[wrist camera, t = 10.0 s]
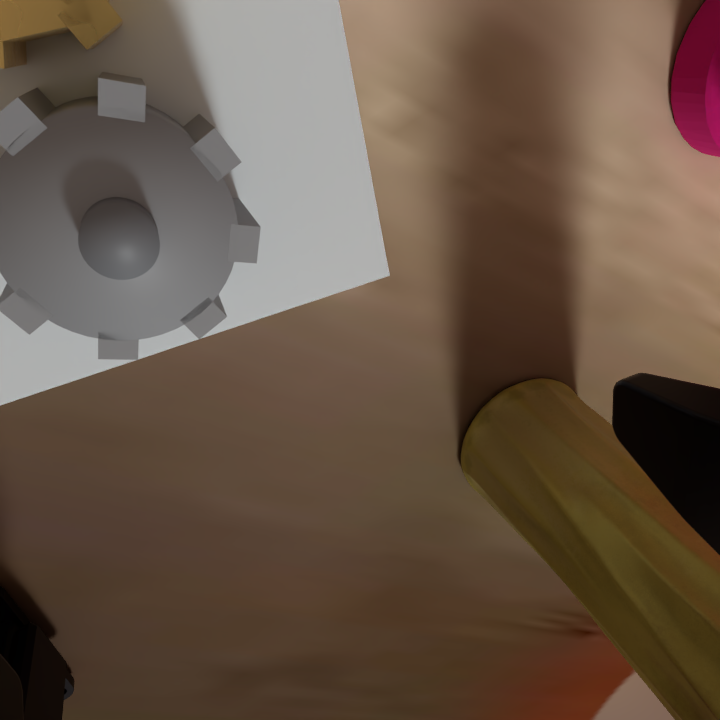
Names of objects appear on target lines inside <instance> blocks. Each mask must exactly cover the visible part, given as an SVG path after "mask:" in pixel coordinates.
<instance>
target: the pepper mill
mask: <svg viewBox="0 0 720 720" xmlns="http://www.w3.org/2000/svg"><path fill="white" fill-rule="evenodd" d="M671 105H672V110H673V115H674V120H675V124H676V126H677V127H678V129H679V131H680V133H681V135H682V137H683V138H684V139H685V140H686V141H687V142H688V143H689V145H690V146H691V147H693V148H694V149H696V150H698V151H699V152H701V153H704V154H708V155H712V156H718V157H720V0H706V1H705V2H704V3H703V4H702V6H701V7H700V9H699V10H698V12H697V13H696V15H695V16H694V18H693V19H692V21H691V23H690V24H689V26H688V29H687V31H686V33H685V36H684V38H683V40H682V43H681V45H680V47H679V50H678V52H677V56H676V60H675V65H674V69H673V74H672V79H671Z"/></svg>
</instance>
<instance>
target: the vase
mask: <svg viewBox="0 0 720 720" xmlns="http://www.w3.org/2000/svg"><path fill="white" fill-rule="evenodd" d="M461 467H462V470H463V473H464V475H465V477H466V479H467V481H468V483H469V484H470V485H471V487H472V488H474V489H475V490H476V491H477V492H478V493H479V494H480V495H481V496H482V497H483V498H484V499H485V500H486V501H487V502H488V503H489V504H490V505H491V506H492V507H493V508H494V509H495V510H496V511H497V512H498V513H499V514H500V515H501V516H502V517H503V518H504V519H505V520H506V521H507V522H508V523H509V524H510V525H511V527H512V528H513V529H514V530H515V531H516V532H517V533H518V534H519V535H520V536H521V537H522V538H523V539H524V540H525V541H526V542H527V543H528V544H529V545H530V546H531V547H532V548H533V549H534V550H535V551H536V552H537V553H538V554H539V555H540V557H541V558H542V559H543V560H544V561H545V562H546V563H547V564H548V565H549V566H550V567H551V568H552V569H553V570H554V571H555V573H556V574H557V575H558V576H559V577H560V578H561V579H562V581H563V582H564V583H565V584H566V585H567V586H568V588H569V589H570V590H571V592H572V593H573V594H574V595H575V596H576V598H577V599H578V600H579V601H580V603H581V604H582V605H583V606H584V608H585V609H586V610H587V611H588V613H589V614H590V615H591V617H592V618H593V619H594V621H595V622H596V623H597V624H598V626H599V627H600V628H601V630H602V631H603V632H604V633H605V635H606V636H607V637H608V638H609V640H610V641H611V642H612V643H613V644H614V646H615V647H616V648H617V649H618V651H619V652H620V653H621V654H622V655H623V657H624V658H625V659H626V660H627V662H628V663H629V664H630V665H631V666H632V668H633V669H634V670H635V671H636V672H637V673H638V675H639V676H640V677H641V678H642V680H643V681H644V682H645V683H646V684H647V686H648V687H649V688H650V689H651V691H652V692H653V693H654V694H655V695H656V697H657V698H658V699H659V700H660V702H661V703H662V704H663V705H664V707H666V709H667V710H668V712H669V713H670V714H671V715H672V716H673V718H674V719H675V720H720V555H719V554H718V553H717V552H716V551H715V550H714V549H713V548H712V547H711V546H710V545H709V544H708V543H707V542H706V541H705V540H704V539H703V538H702V537H701V536H700V535H699V534H698V533H697V532H696V531H695V530H694V529H693V528H692V527H691V526H690V525H689V524H688V523H687V522H686V521H685V520H684V519H683V518H682V517H681V515H680V514H679V513H678V512H677V511H676V510H675V509H674V507H673V506H672V505H671V504H670V503H669V501H668V500H667V499H666V498H665V497H664V495H663V494H662V493H661V492H660V490H659V489H658V488H657V487H656V486H655V484H654V483H653V482H652V481H651V480H650V478H649V477H648V476H647V475H646V473H645V472H644V471H643V470H642V469H641V467H640V466H639V465H638V464H637V462H636V461H635V460H634V459H633V458H632V456H631V455H630V454H629V453H628V451H627V450H626V449H625V448H624V447H623V445H622V444H621V443H620V442H619V440H618V439H617V437H616V435H615V433H614V430H613V426H612V425H611V424H610V423H609V422H607V421H606V420H605V419H604V418H603V417H601V416H600V415H599V414H598V413H596V412H595V411H594V410H593V409H591V408H590V407H589V406H587V405H586V404H585V403H584V402H583V401H582V400H581V399H580V398H579V397H578V396H577V395H576V393H575V392H574V391H573V390H572V389H571V388H570V387H569V386H567V385H566V384H564V383H562V382H560V381H556V380H552V379H544V378H539V379H532V380H528V381H524V382H521V383H518V384H516V385H513V386H511V387H509V388H507V389H505V390H503V391H502V392H500V393H499V394H497V395H496V396H495V397H494V398H492V399H491V400H490V401H489V402H488V403H487V404H486V405H485V406H483V407H482V409H481V410H480V411H479V412H478V414H477V415H476V416H475V418H474V419H473V421H472V422H471V424H470V426H469V428H468V430H467V432H466V435H465V437H464V441H463V445H462V451H461Z"/></svg>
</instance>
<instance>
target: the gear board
mask: <svg viewBox="0 0 720 720" xmlns="http://www.w3.org/2000/svg"><path fill="white" fill-rule="evenodd" d="M109 4H110V5H111V6H112V8H113V9H114V10H115V11H116V13H117V14H118V15H119V16H120V18H121V19H122V26H120V27H119V28H118V29H117V30H115V31H114V32H113V33H112V34H111V35H109V36H108V37H107V38H106V39H105V40H103V41H102V42H101V43H100V44H99V45H97V46H96V47H95V48H94V49H89V50H86V49H85V47H84V46H83V45H82V44H81V43H80V41H79V40H78V39H77V38H76V37H75V35H74V34H73V33H72V32H67V33H63V34H58V35H54V36H49V37H45V38H40V39H36V40H31V41H27V42H26V57H27V64H25V65H20V66H16V67H11V68H6V69H3V68H0V405H3V404H6V403H9V402H12V401H15V400H18V399H21V398H24V397H27V396H30V395H33V394H36V393H39V392H42V391H45V390H48V389H51V388H54V387H57V386H60V385H63V384H66V383H69V382H72V381H75V380H78V379H81V378H84V377H87V376H90V375H93V374H96V373H99V372H102V371H105V370H108V369H111V368H114V367H117V366H120V365H123V364H126V363H129V362H132V361H135V360H138V359H141V358H144V357H147V356H150V355H153V354H156V353H159V352H162V351H165V350H168V349H171V348H174V347H177V346H180V345H183V344H186V343H189V342H192V341H195V340H198V339H201V338H204V337H207V336H210V335H213V334H216V333H219V332H222V331H225V330H228V329H231V328H234V327H237V326H240V325H243V324H246V323H249V322H252V321H255V320H258V319H261V318H264V317H267V316H270V315H273V314H276V313H279V312H282V311H285V310H288V309H291V308H294V307H297V306H300V305H303V304H306V303H309V302H312V301H315V300H318V299H321V298H324V297H327V296H330V295H333V294H336V293H339V292H342V291H345V290H348V289H351V288H354V287H357V286H360V285H363V284H366V283H369V282H372V281H375V280H378V279H381V278H384V277H387V276H390V275H389V269H388V264H387V259H386V253H385V248H384V242H383V237H382V232H381V226H380V221H379V216H378V210H377V205H376V199H375V194H374V189H373V183H372V178H371V172H370V167H369V162H368V156H367V151H366V145H365V140H364V135H363V129H362V124H361V118H360V113H359V108H358V102H357V97H356V91H355V86H354V81H353V75H352V70H351V64H350V59H349V54H348V48H347V43H346V37H345V32H344V27H343V21H342V16H341V10H340V5H339V0H110V1H109Z"/></svg>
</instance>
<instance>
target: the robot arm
mask: <svg viewBox="0 0 720 720" xmlns="http://www.w3.org/2000/svg"><path fill="white" fill-rule="evenodd" d="M612 426H613V430H614V433H615V435H616V437H617V439H618V440H619V442H620V443H621V444H622V445H623V447H624V448H625V449H626V450H627V451H628V453H629V454H630V455H631V456H632V458H633V459H634V460H635V461H636V462H637V464H638V465H639V466H640V467H641V469H642V470H643V471H644V472H645V473H646V475H647V476H648V477H649V478H650V480H651V481H652V482H653V483H654V484H655V486H656V487H657V488H658V489H659V490H660V492H661V493H662V494H663V495H664V497H665V498H666V499H667V500H668V501H669V503H670V504H671V505H672V506H673V507H674V509H675V510H676V511H677V512H678V513H679V514H680V515H681V517H682V518H683V519H684V520H685V521H686V522H687V523H688V524H689V525H690V526H691V527H692V528H693V529H694V530H695V531H696V532H697V533H698V534H699V535H700V536H701V537H702V538H703V539H704V540H705V541H706V542H707V543H708V544H709V545H710V546H711V547H712V548H713V549H714V550H715V551H716V552H717V553H718V554H719V555H720V389H719V388H714V387H709V386H704V385H700V384H695V383H690V382H685V381H680V380H676V379H671V378H666V377H661V376H656V375H652V374H647V373H638V374H634V375H632V376H629V377H627V378H624V379H622V380H620V381H618V382H617V383H616V384H615V386H614V389H613V416H612ZM66 668H67V663H66V661H65V660H64V659H63V657H62V656H61V655H60V653H59V652H58V651H57V650H56V648H55V647H54V646H53V644H52V643H51V642H50V640H49V639H48V638H47V637H46V635H45V634H44V633H43V631H42V630H41V629H40V627H39V626H38V625H36V624H34V623H32V622H31V623H30V621H29V620H28V619H27V617H26V616H25V615H24V614H23V612H22V611H21V610H20V608H19V607H18V606H17V605H16V603H15V602H14V601H13V599H12V598H11V597H10V595H9V594H8V593H7V592H6V590H5V589H4V588H2V587H1V586H0V720H62V713H63V701H64V699H66V698H68V697H70V696H71V695H72V693H73V691H74V678H73V677H72V675H71V674H70V673H69V672H68V670H67V669H66Z"/></svg>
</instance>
